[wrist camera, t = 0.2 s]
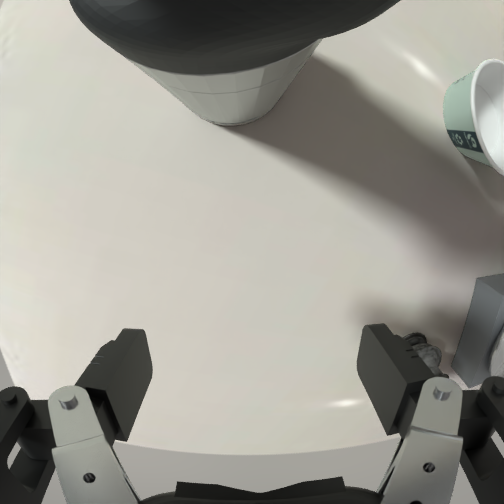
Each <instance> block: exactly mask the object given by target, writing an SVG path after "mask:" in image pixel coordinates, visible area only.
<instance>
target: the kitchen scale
mask: <svg viewBox="0 0 504 504" xmlns="http://www.w3.org/2000/svg"><path fill="white" fill-rule="evenodd" d="M503 327H504V274H498V275H492V276H486V277H480V278H477V280H476V284H475V289H474V293H473V297H472V301H471V305H470V309H469V312H468V316H467V320H466V323H465V326H464V330H463V333H462V336H461V339H460V342H459V345H458V348H457V351H456V354H455V357H454V360H453V362H452V365H451V367H452V368H453V369H454V370H455V372H456V373H457V374H458V375H459V376H460V378H461V379H462V380H463V381H464V383H465V384H466V385H467V386H468V388H471V387H474V386H476V385H479V384H481V383H483V381H484V380H485V379H486V378H488V377H491V375H490V374H489V371H488V362H489V358H490V354H491V351H492V348H493V346H494V344H495V341H496V339H497V337H498V335H499V334H500V332H501V330H502V328H503Z"/></svg>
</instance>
